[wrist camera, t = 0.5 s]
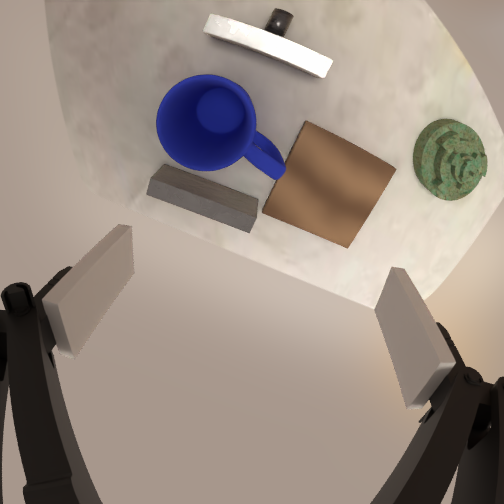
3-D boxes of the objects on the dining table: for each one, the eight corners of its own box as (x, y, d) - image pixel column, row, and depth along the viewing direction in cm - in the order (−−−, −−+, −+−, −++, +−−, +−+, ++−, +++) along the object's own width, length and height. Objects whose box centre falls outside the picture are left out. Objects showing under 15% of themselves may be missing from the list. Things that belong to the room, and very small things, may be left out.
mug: (257, 177, 36) (253, 215, 27) (171, 119, 32) (138, 138, 24) (302, 123, 32) (315, 143, 24) (213, 60, 28) (191, 55, 20)
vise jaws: (229, -2, 24) (223, -13, 20) (334, 40, 26) (345, 35, 22) (160, 178, 36) (146, 194, 32) (251, 213, 38) (249, 233, 34)
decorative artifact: (397, 162, 34) (445, 206, 36) (422, 183, 28) (470, 231, 30) (441, 102, 29) (485, 152, 31) (473, 112, 23) (516, 170, 25)
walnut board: (305, 120, 32) (306, 121, 31) (393, 166, 34) (396, 169, 33) (262, 209, 38) (262, 213, 37) (346, 244, 40) (347, 248, 39)
